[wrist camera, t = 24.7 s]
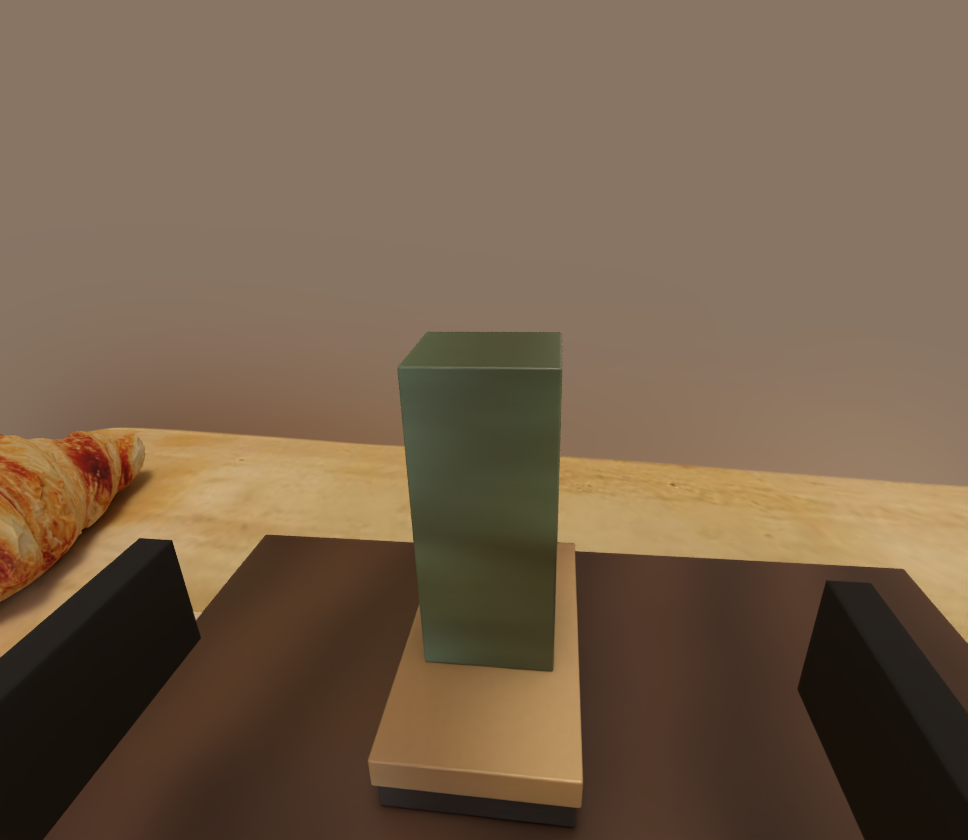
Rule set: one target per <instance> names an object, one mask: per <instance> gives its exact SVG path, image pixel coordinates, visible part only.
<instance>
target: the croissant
mask: <svg viewBox="0 0 968 840" xmlns="http://www.w3.org/2000/svg"><path fill="white" fill-rule="evenodd" d="M144 458H145V448H144V445H143V442H142V441H141V440H140V439H139V438H138V436H136V435H135V434H129V435H125V436H123V437H122V438H120V439H117V438H115V437H113V436H104V435H101V434H99V433H88V432H85V431H74V432H73V433H71V434H70V435H69V436H68V437H66V438H65V439H62V440H54V439H47V438H37V439H29V440H26V439H24V438H22V437H19V436H15V435H10V436H5V435H1V434H0V602H1V601H3V600H5V599H6V598H8V597H10V596H11V595H13V594H15V593H17V592H18V591H20V590H22V589H23V588H25V587H27V586H28V585H29V584H31V583H32V582H33V581H35V580H36V579H37V578H39V577H40V576H41V575H42V574H43V573H44V572H45V571H47V570H48V569H49V568H50V567H51V566H52V565H53V564H54V563H55V562H56V561H57V560H58V559H60V558H61V557H62V556H63V555H64V554H65V553H66V552H67V551H68V550H69V548H70V547H71V546H72V545H73V543H74V542H75V540H76V539H77V537H78V535H80V534H82V531H81V530H82V529H83V528H88V527H90V526H91V525H92V524H93V523H95V522H96V521H97V520H98V519H99V518H100V517H101V515H102V514H103V513H104V512H105V511H106V510H107V508H108V506H109V504H110V502H111V501H112V499H113V498H114V496H115V494H116V493H117V492H118V491H120V490H122V489H124V488H126V487H127V486H128V485H129V484H130V482H131V481H132V480H133V479H134V478H135V477H136V475H137V474H138V473H139V471H140V469H141V468H142V466H143V462H144Z"/></svg>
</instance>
